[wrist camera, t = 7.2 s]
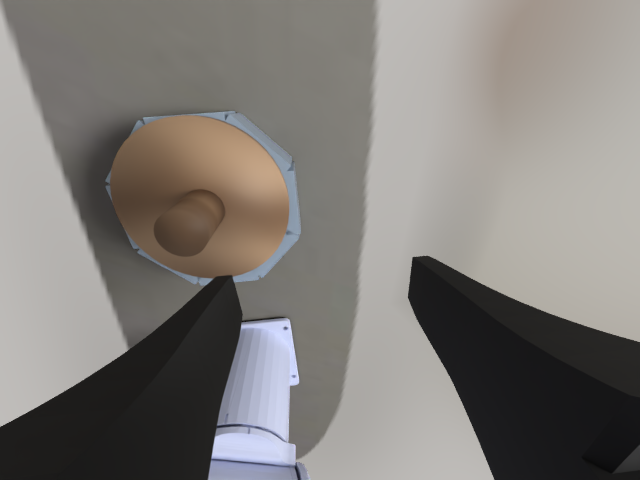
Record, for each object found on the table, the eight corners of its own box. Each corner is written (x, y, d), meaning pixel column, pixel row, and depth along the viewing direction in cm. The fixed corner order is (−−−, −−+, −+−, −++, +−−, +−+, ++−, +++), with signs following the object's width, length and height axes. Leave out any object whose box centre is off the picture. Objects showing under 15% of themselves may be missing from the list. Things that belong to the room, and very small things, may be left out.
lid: (296, 265, 19) (296, 306, 15) (153, 277, 18) (114, 323, 14) (279, 110, 14) (273, 111, 10) (87, 120, 14) (5, 126, 10)
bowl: (304, 254, 22) (305, 275, 19) (170, 267, 21) (151, 290, 19) (288, 107, 17) (286, 107, 14) (112, 119, 16) (76, 122, 14)
